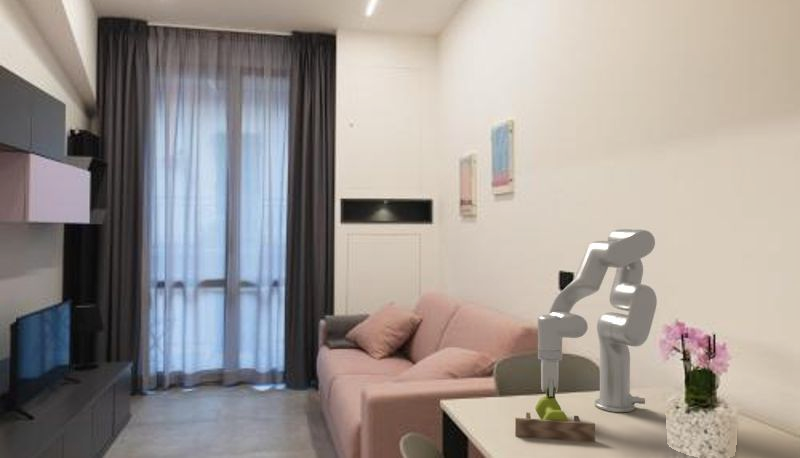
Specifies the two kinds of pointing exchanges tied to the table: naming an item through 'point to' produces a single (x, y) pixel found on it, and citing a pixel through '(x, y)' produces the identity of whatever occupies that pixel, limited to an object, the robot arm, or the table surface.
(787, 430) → the table surface
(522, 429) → the walnut bay
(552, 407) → the dumbbell
